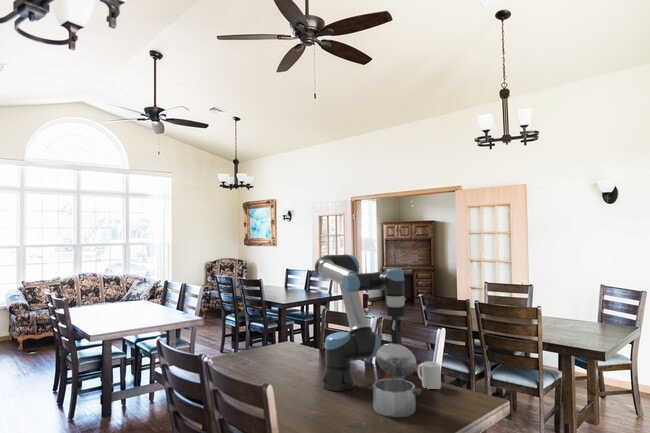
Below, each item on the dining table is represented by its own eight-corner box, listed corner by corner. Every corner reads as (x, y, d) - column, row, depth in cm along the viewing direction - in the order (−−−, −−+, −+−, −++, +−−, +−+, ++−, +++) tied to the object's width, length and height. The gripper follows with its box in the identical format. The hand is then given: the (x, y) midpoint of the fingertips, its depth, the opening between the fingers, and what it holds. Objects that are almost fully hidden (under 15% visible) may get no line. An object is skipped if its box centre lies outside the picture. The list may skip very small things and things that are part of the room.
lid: (373, 343, 168) (374, 339, 170) (378, 376, 174) (379, 372, 176) (413, 346, 162) (414, 342, 164) (418, 380, 168) (418, 376, 170)
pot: (363, 412, 159) (362, 388, 160) (374, 397, 175) (374, 375, 175) (417, 420, 151) (417, 395, 152) (424, 403, 167) (423, 380, 168)
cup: (433, 391, 181) (432, 367, 182) (412, 384, 190) (411, 362, 191) (445, 387, 186) (444, 364, 186) (424, 380, 195) (423, 358, 196)
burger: (400, 381, 195) (399, 371, 195) (407, 388, 186) (407, 377, 186) (380, 383, 193) (380, 373, 193) (387, 390, 184) (386, 379, 184)
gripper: (401, 308, 165) (403, 368, 163) (407, 304, 177) (409, 360, 175) (383, 307, 168) (385, 367, 166) (390, 303, 180) (391, 358, 178)
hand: (397, 363), depth 171 cm, fingers closed
